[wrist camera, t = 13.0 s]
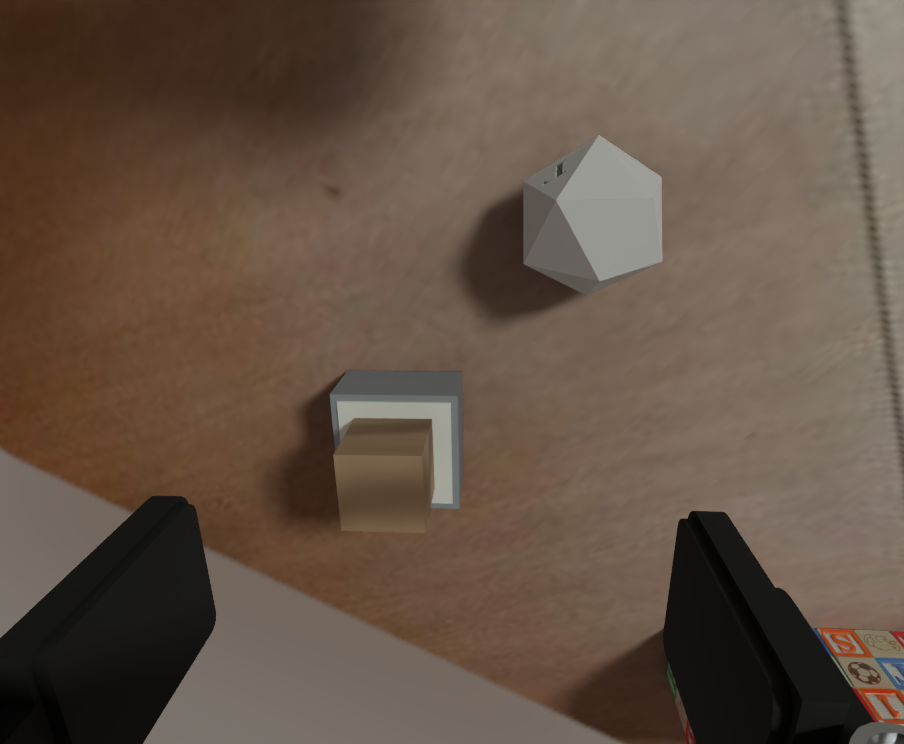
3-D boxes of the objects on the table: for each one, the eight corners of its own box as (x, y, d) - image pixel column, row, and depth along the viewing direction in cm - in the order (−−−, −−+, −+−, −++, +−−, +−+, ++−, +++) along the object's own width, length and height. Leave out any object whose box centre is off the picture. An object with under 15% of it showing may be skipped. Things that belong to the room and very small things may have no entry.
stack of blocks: (928, 628, 49) (1061, 772, 37) (911, 684, 51) (1032, 837, 39) (669, 621, 50) (719, 756, 39) (663, 675, 53) (709, 818, 41)
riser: (347, 370, 45) (329, 395, 40) (462, 371, 44) (457, 396, 39) (356, 472, 48) (339, 506, 43) (463, 474, 47) (459, 509, 42)
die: (658, 148, 38) (601, 85, 30) (704, 270, 36) (656, 238, 28) (549, 209, 43) (474, 169, 35) (584, 319, 41) (514, 304, 33)
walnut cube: (354, 418, 40) (333, 454, 35) (432, 418, 40) (421, 456, 35) (360, 486, 42) (341, 530, 37) (434, 487, 42) (425, 533, 36)
